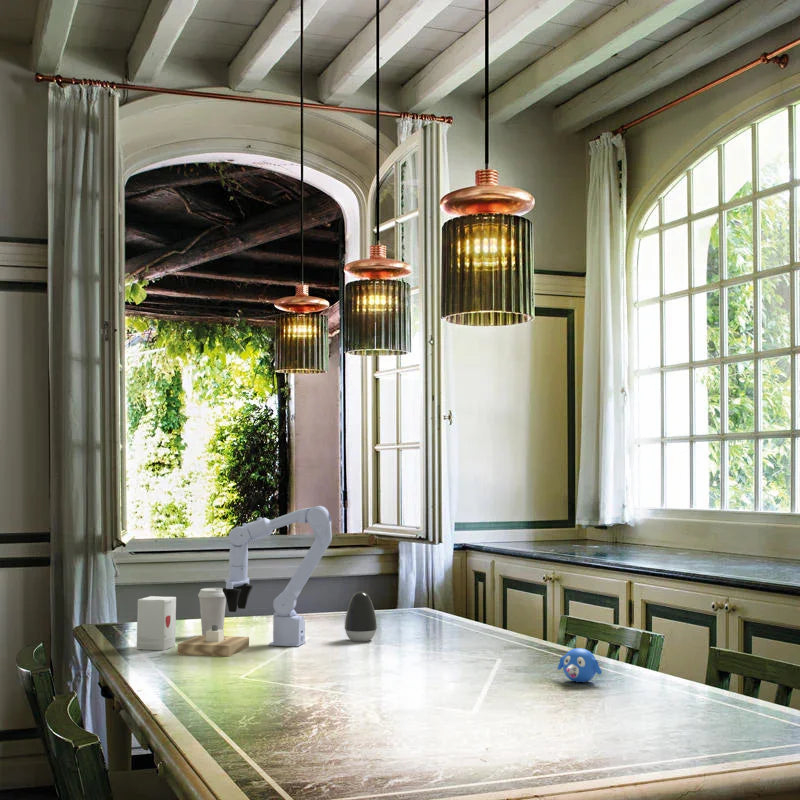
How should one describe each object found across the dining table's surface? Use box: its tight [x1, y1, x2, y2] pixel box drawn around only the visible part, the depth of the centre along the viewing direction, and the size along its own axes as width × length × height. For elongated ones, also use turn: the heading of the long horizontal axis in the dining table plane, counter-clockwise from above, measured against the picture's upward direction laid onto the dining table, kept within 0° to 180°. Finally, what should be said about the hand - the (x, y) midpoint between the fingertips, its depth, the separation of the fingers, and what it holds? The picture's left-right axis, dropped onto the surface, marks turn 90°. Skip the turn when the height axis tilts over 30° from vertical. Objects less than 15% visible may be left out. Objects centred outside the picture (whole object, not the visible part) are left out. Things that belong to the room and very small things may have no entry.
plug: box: [206, 625, 225, 642], centre depth 308 cm, size 4×4×8 cm
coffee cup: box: [197, 587, 227, 636], centre depth 335 cm, size 10×10×15 cm
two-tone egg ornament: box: [344, 591, 378, 642], centre depth 327 cm, size 10×10×15 cm
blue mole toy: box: [557, 647, 603, 683], centre depth 260 cm, size 12×12×8 cm
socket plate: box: [176, 634, 250, 657], centre depth 308 cm, size 16×16×3 cm
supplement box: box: [136, 595, 177, 651], centre depth 314 cm, size 9×9×15 cm
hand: (237, 610), depth 320 cm, fingers open, 7 cm apart
